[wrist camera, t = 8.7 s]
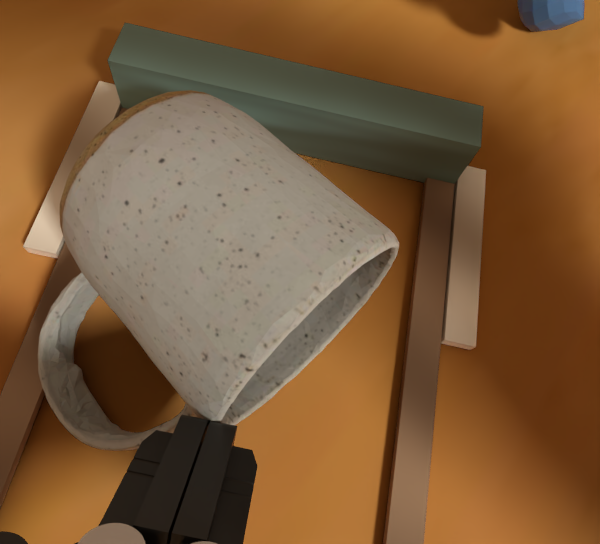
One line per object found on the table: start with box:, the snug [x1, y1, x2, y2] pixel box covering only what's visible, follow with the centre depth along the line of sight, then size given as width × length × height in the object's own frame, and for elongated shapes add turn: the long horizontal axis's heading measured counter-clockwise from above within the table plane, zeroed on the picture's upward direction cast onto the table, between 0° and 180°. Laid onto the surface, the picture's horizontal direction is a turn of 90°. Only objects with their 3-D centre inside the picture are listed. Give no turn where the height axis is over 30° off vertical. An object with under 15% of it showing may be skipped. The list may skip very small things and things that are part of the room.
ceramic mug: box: [38, 90, 399, 451], centre depth 15 cm, size 11×8×8 cm
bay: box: [0, 23, 486, 544], centre depth 17 cm, size 23×17×3 cm
